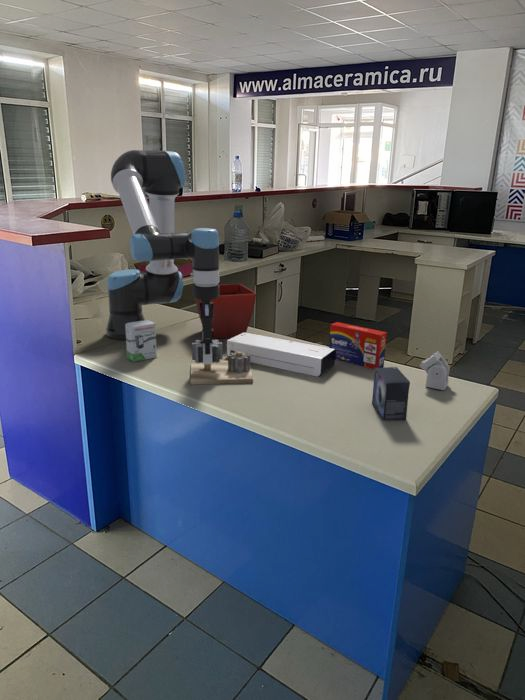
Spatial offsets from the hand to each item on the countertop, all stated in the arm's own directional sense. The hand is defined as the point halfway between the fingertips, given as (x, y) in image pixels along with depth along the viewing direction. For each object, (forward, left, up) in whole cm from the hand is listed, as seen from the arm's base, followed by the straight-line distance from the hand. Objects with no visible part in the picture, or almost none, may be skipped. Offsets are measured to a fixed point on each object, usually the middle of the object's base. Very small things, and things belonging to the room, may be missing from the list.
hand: (207, 358), depth 158 cm
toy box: (-7, +48, -5) cm, 49 cm away
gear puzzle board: (0, +4, -5) cm, 6 cm away
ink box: (-16, -21, -5) cm, 27 cm away
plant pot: (-42, +7, -5) cm, 43 cm away
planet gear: (0, 0, 0) cm, 0 cm away
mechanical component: (+14, +65, -5) cm, 67 cm away
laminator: (-9, +23, -6) cm, 25 cm away
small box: (+30, +46, -5) cm, 55 cm away
